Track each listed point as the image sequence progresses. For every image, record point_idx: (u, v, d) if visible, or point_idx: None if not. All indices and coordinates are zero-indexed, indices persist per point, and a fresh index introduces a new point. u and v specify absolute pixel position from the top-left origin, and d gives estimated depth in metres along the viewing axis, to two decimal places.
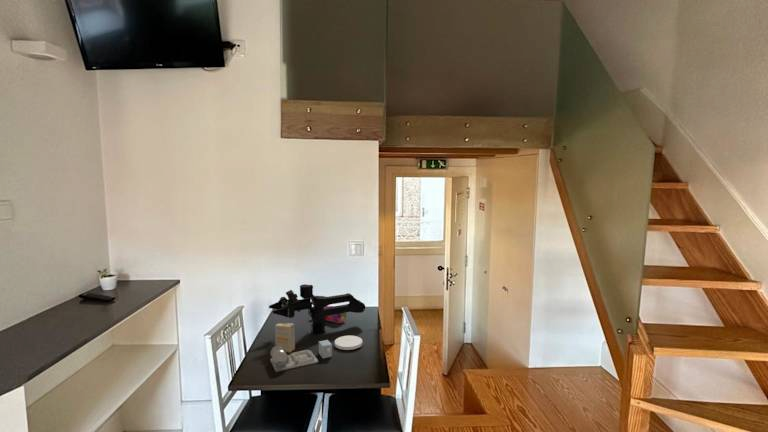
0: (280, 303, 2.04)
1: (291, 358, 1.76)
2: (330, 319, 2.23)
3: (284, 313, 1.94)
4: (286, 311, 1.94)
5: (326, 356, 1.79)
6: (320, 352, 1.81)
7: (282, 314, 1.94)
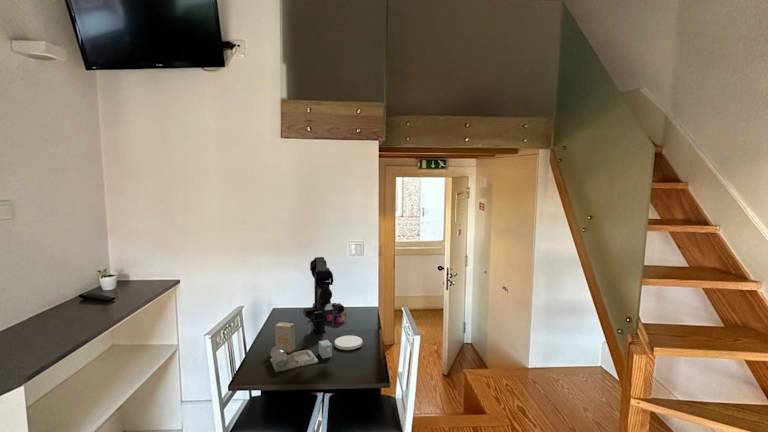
0: None
1: (291, 358, 1.76)
2: (331, 319, 2.23)
3: None
4: None
5: (326, 356, 1.79)
6: (320, 352, 1.81)
7: None
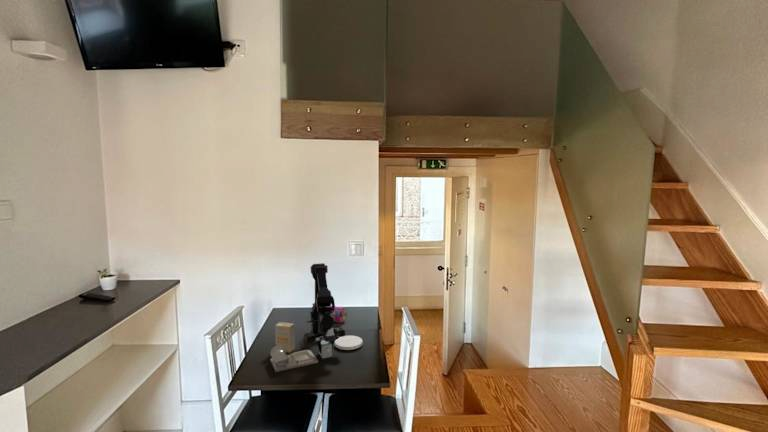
0: None
1: (291, 358, 1.76)
2: None
3: None
4: None
5: (326, 356, 1.79)
6: None
7: None
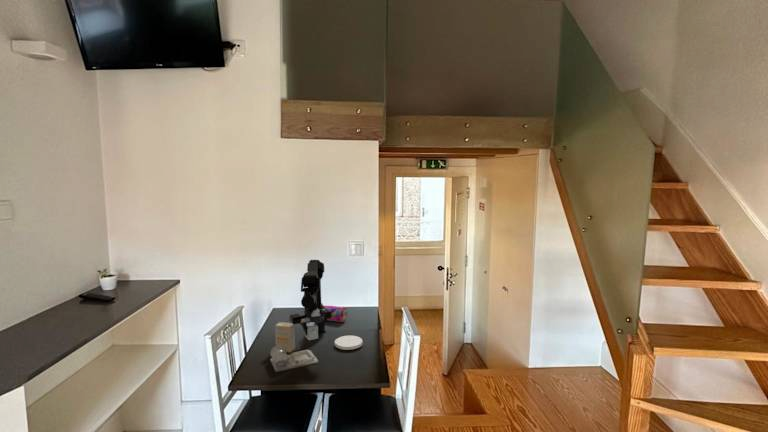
0: None
1: (291, 358, 1.76)
2: (332, 319, 2.24)
3: None
4: None
5: (312, 338, 1.75)
6: None
7: None
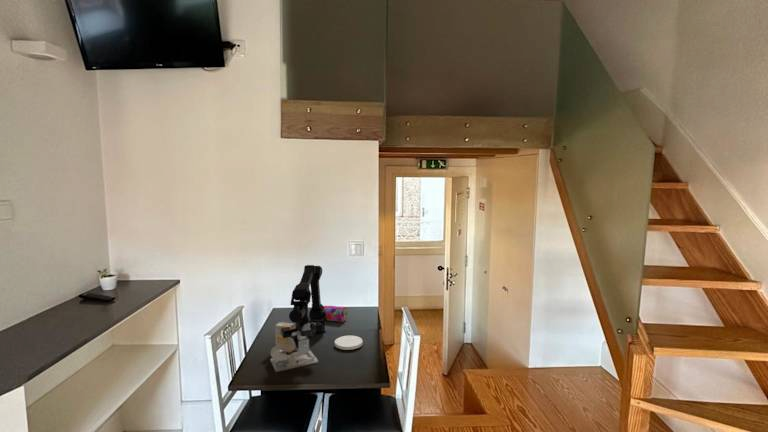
0: (296, 336, 1.74)
1: (291, 358, 1.76)
2: (332, 318, 2.24)
3: None
4: None
5: (303, 351, 1.73)
6: None
7: None
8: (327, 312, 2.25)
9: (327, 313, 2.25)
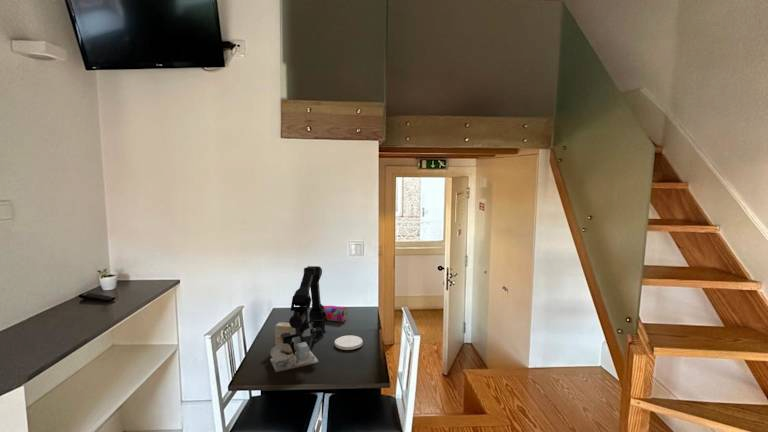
0: None
1: (291, 358, 1.76)
2: (333, 318, 2.24)
3: None
4: None
5: None
6: (297, 355, 1.76)
7: None
8: (327, 312, 2.25)
9: (327, 313, 2.25)
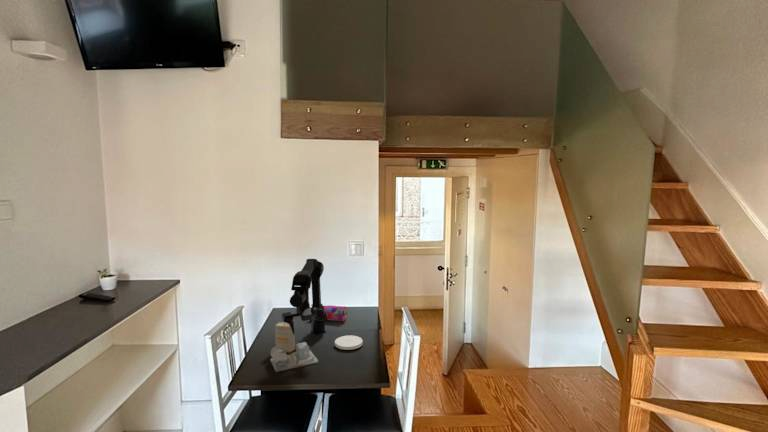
0: (292, 322, 1.76)
1: (291, 358, 1.76)
2: (333, 318, 2.25)
3: None
4: None
5: None
6: (297, 355, 1.76)
7: None
8: (328, 312, 2.25)
9: (328, 313, 2.25)
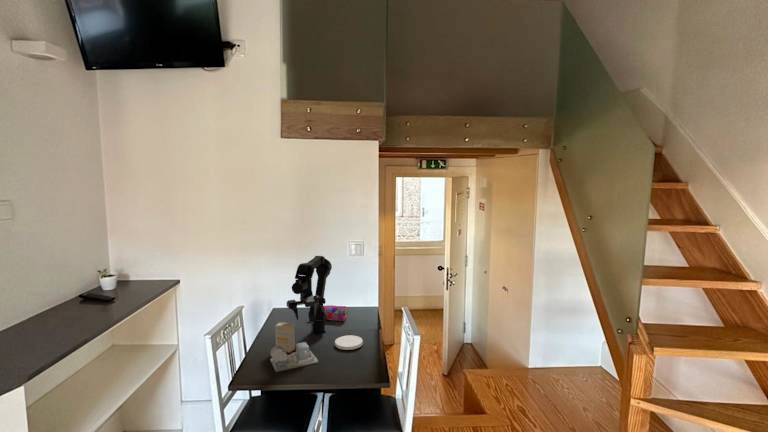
0: None
1: (291, 358, 1.76)
2: (334, 318, 2.25)
3: None
4: None
5: None
6: (297, 355, 1.76)
7: None
8: (328, 312, 2.25)
9: (328, 313, 2.25)
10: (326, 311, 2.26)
